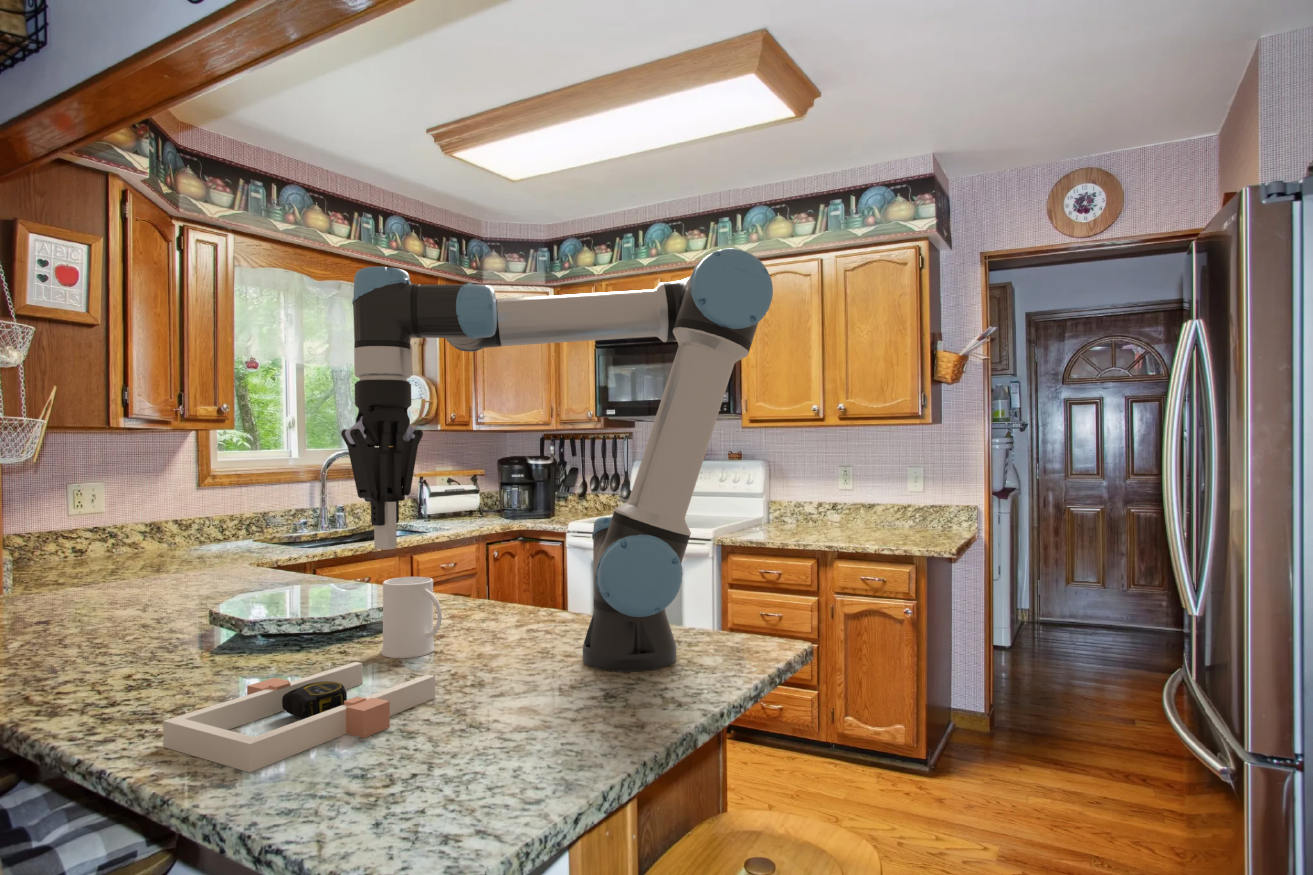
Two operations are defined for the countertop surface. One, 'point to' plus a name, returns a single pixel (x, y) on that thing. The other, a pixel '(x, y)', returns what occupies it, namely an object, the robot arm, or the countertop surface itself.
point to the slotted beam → (356, 717)
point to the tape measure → (314, 699)
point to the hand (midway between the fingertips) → (385, 548)
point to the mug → (409, 617)
